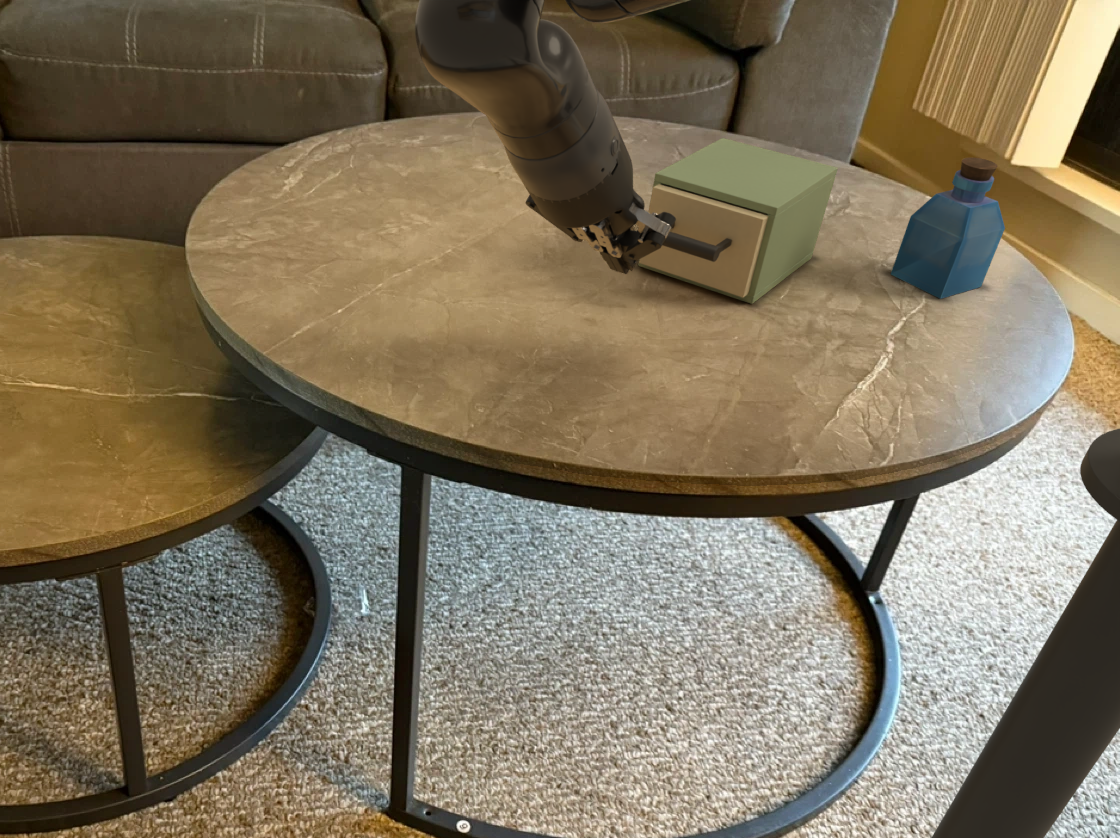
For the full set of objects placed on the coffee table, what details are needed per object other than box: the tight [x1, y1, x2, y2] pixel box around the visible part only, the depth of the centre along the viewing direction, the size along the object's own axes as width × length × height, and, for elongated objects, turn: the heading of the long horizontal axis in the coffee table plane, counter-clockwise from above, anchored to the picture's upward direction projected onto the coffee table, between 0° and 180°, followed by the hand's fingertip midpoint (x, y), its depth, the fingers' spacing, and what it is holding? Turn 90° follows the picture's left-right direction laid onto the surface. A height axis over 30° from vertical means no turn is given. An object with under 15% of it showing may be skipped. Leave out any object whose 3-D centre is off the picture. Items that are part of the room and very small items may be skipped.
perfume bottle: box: [890, 157, 1006, 300], centre depth 104 cm, size 6×6×12 cm
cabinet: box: [638, 137, 839, 305], centre depth 107 cm, size 15×13×10 cm
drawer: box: [638, 184, 768, 298], centre depth 105 cm, size 18×11×8 cm, turn 141°
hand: (625, 262), depth 90 cm, fingers closed
